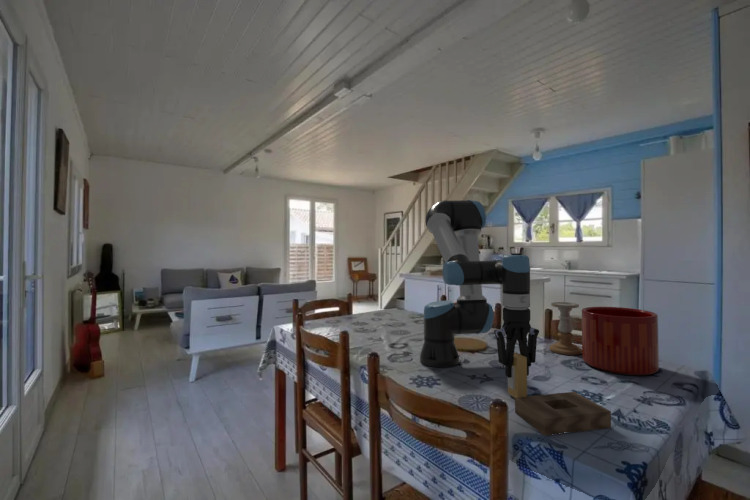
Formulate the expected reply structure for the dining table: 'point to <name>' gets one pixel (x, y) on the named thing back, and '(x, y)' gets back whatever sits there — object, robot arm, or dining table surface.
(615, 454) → the dining table surface
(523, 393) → the peg
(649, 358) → the planter
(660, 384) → the dining table surface
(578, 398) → the socket block
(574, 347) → the candle holder
